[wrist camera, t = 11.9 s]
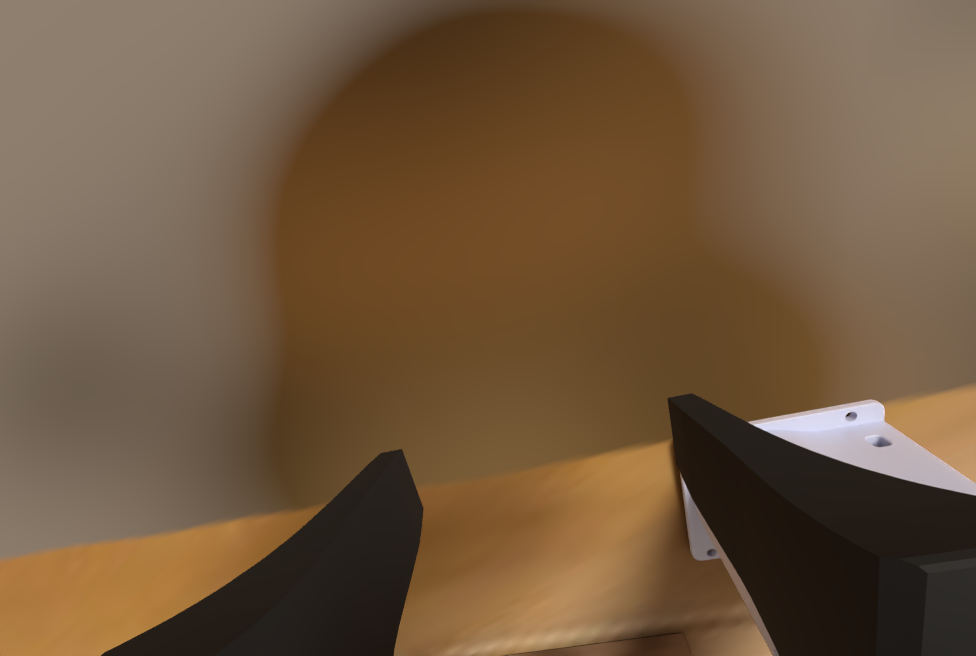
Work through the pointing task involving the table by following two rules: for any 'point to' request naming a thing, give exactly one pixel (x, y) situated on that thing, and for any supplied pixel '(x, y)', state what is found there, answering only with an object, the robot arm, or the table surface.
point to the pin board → (625, 648)
